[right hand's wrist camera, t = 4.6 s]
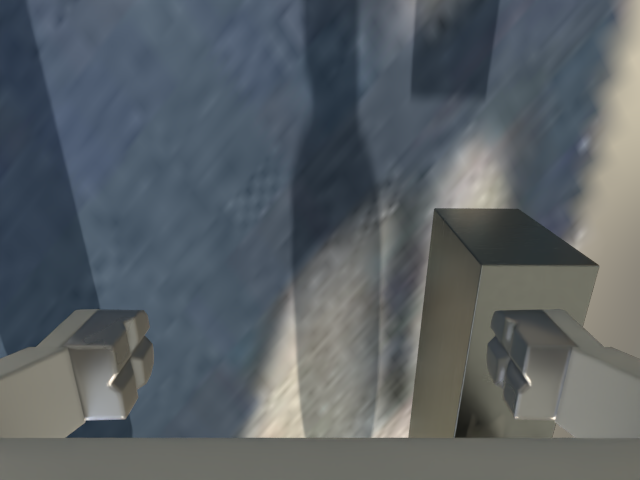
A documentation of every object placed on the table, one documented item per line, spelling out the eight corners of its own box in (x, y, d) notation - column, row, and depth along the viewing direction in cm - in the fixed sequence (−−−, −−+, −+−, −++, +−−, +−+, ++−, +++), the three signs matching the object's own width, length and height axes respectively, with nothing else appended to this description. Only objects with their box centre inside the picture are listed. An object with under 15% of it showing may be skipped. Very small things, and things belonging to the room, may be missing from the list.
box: (433, 208, 29) (481, 264, 21) (518, 208, 30) (600, 265, 21) (406, 456, 38) (432, 567, 29) (472, 455, 38) (517, 567, 30)
